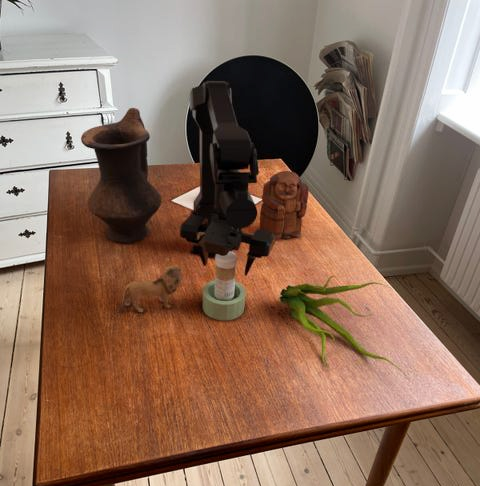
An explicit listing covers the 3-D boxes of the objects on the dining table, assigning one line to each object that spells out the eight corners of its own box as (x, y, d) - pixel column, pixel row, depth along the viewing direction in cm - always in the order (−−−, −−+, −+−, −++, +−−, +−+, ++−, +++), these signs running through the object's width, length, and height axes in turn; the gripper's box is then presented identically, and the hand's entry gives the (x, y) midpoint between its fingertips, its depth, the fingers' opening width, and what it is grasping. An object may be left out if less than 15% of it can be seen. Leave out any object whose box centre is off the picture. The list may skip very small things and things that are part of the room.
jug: (145, 259, 125) (137, 139, 106) (79, 244, 128) (59, 126, 109) (176, 221, 141) (174, 111, 122) (116, 208, 144) (105, 100, 125)
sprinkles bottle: (230, 298, 114) (233, 248, 106) (235, 311, 111) (239, 260, 102) (211, 301, 113) (212, 250, 104) (215, 313, 110) (218, 262, 101)
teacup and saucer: (207, 191, 156) (207, 179, 153) (227, 199, 153) (228, 187, 150) (189, 201, 150) (189, 188, 148) (209, 209, 147) (210, 196, 144)
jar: (196, 314, 110) (196, 298, 107) (211, 290, 117) (211, 274, 114) (236, 324, 108) (237, 308, 105) (249, 300, 115) (250, 284, 112)
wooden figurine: (262, 241, 135) (269, 178, 124) (257, 229, 140) (263, 167, 129) (304, 239, 138) (314, 177, 126) (297, 227, 142) (307, 167, 131)
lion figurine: (177, 291, 115) (177, 258, 110) (186, 304, 112) (186, 271, 106) (115, 305, 110) (111, 272, 104) (121, 320, 106) (117, 286, 101)
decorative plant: (320, 398, 93) (334, 341, 84) (275, 301, 115) (283, 247, 105) (406, 386, 97) (430, 329, 87) (348, 294, 119) (361, 241, 109)
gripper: (167, 210, 92) (169, 280, 102) (264, 232, 88) (257, 301, 98) (190, 186, 100) (190, 253, 110) (280, 205, 96) (271, 272, 106)
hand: (225, 269), depth 106 cm, fingers open, 9 cm apart
